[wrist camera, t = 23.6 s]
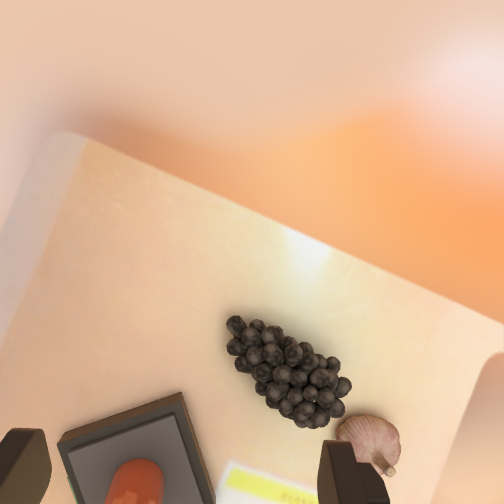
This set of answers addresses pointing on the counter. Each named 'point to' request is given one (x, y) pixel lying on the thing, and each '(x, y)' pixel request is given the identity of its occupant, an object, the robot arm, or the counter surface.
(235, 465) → the counter surface
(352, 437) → the garlic bulb
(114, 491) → the terracotta cup
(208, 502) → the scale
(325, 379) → the fruit
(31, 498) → the robot arm
